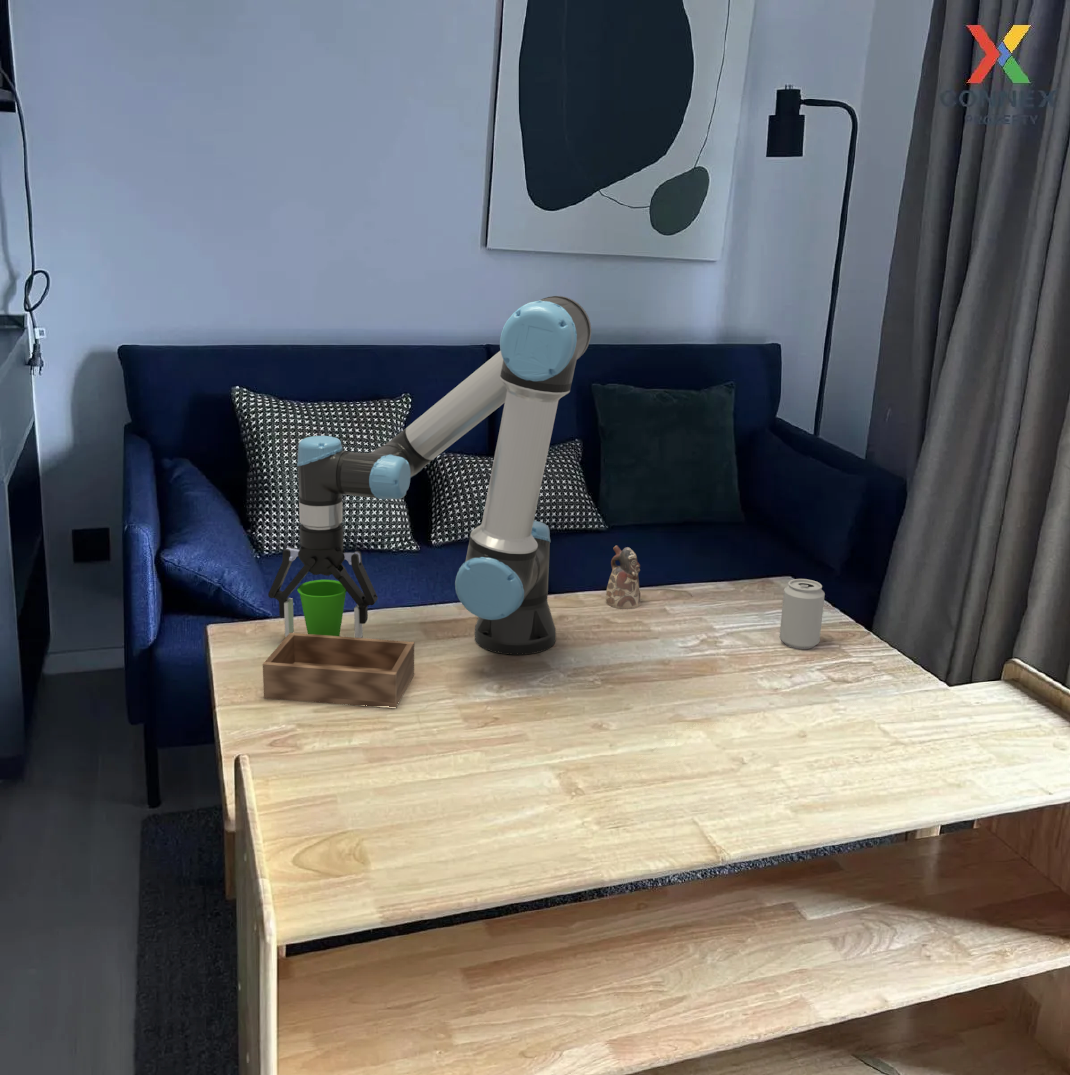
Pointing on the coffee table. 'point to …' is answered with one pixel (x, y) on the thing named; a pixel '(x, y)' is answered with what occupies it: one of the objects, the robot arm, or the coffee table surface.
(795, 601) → the can
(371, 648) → the tray
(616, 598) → the figurine
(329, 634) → the cup
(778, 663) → the coffee table surface
